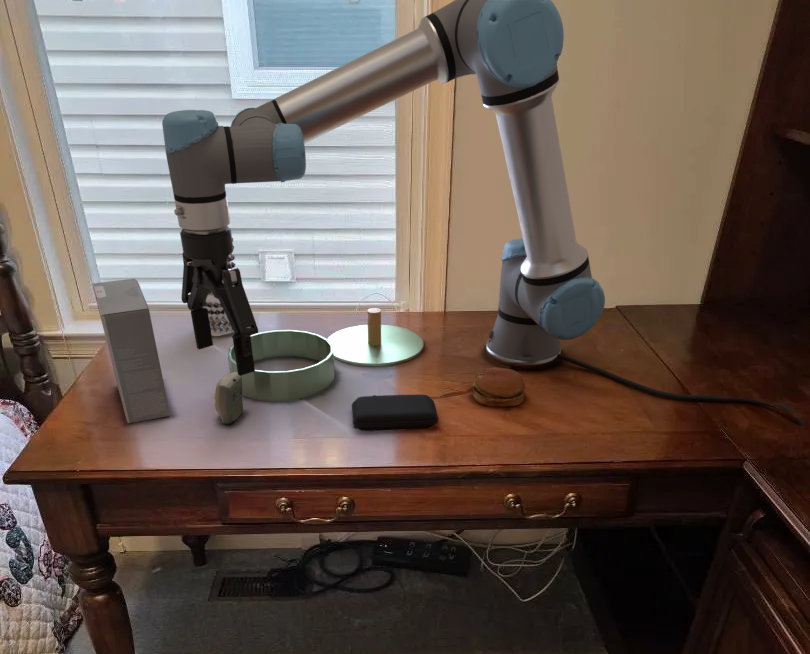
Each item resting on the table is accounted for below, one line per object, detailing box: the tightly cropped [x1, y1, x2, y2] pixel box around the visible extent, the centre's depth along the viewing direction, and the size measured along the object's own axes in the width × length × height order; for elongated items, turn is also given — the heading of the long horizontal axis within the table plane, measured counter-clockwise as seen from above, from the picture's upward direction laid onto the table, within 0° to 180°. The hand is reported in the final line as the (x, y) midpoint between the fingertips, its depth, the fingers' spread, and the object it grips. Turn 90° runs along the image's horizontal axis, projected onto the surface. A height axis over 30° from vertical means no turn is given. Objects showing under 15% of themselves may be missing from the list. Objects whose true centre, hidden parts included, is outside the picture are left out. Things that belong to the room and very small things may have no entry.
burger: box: [472, 367, 526, 408], centre depth 138 cm, size 10×9×5 cm
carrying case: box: [351, 393, 439, 432], centre depth 132 cm, size 11×3×15 cm
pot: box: [227, 329, 336, 403], centre depth 144 cm, size 20×20×6 cm
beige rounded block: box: [214, 372, 244, 427], centre depth 129 cm, size 6×5×8 cm
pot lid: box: [327, 307, 424, 367], centre depth 155 cm, size 20×20×8 cm
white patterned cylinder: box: [202, 237, 236, 337], centre depth 158 cm, size 9×9×25 cm
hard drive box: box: [92, 278, 171, 424], centre depth 131 cm, size 16×8×20 cm, turn 23°
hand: (225, 359), depth 125 cm, fingers open, 13 cm apart
